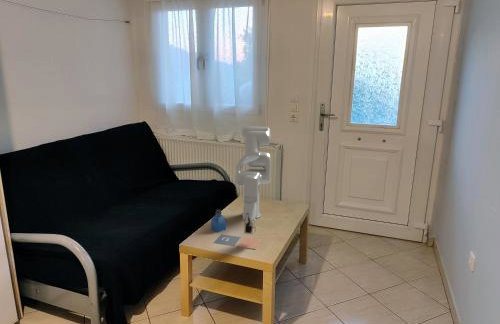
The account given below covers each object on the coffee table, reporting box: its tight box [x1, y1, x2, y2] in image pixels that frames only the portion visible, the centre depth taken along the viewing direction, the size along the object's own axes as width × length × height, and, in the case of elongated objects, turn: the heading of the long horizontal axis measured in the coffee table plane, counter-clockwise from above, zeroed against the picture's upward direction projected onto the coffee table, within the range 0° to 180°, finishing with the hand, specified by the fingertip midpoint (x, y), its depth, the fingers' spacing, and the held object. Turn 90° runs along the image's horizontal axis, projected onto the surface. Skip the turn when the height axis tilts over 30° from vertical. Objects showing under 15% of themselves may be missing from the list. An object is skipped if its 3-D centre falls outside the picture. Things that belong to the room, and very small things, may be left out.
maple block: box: [243, 218, 257, 236], centre depth 193 cm, size 5×5×7 cm
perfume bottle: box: [210, 209, 227, 233], centre depth 212 cm, size 6×6×12 cm
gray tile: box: [213, 233, 241, 247], centre depth 199 cm, size 12×12×1 cm
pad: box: [237, 236, 262, 251], centre depth 195 cm, size 12×10×1 cm
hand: (249, 230), depth 193 cm, fingers closed on maple block, 4 cm apart
